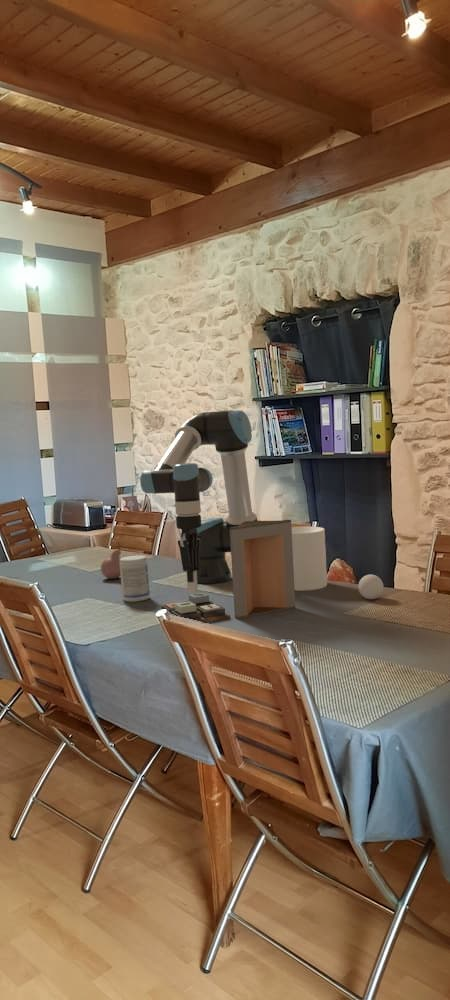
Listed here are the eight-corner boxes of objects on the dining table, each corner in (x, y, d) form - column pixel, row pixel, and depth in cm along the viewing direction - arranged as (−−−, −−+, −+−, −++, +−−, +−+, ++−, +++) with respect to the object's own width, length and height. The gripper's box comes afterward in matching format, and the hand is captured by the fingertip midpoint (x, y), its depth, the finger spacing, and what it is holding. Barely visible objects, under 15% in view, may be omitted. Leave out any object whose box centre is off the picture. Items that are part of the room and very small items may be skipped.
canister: (276, 589, 266) (273, 533, 264) (289, 580, 280) (287, 526, 278) (320, 591, 260) (317, 533, 257) (331, 581, 274) (329, 526, 272)
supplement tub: (154, 599, 262) (151, 557, 261) (130, 604, 257) (126, 561, 256) (141, 594, 270) (139, 554, 269) (117, 599, 265) (114, 558, 264)
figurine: (133, 577, 303) (130, 547, 301) (108, 582, 296) (106, 551, 295) (121, 574, 310) (119, 545, 308) (97, 579, 303) (95, 549, 302)
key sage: (190, 607, 233) (189, 600, 233) (196, 611, 229) (195, 604, 228) (175, 610, 231) (174, 603, 231) (180, 613, 227) (180, 606, 226)
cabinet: (237, 619, 229) (232, 527, 226) (222, 612, 238) (217, 524, 235) (295, 607, 239) (291, 520, 236) (279, 602, 247) (275, 517, 244)
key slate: (203, 598, 245) (202, 591, 244) (209, 601, 240) (208, 594, 240) (188, 600, 243) (188, 594, 242) (194, 603, 238) (194, 596, 238)
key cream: (214, 610, 237) (214, 603, 236) (220, 613, 232) (220, 606, 232) (199, 612, 235) (199, 605, 234) (205, 616, 230) (205, 609, 230)
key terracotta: (180, 608, 242) (180, 601, 241) (186, 611, 237) (185, 604, 237) (165, 610, 240) (165, 603, 239) (171, 614, 235) (170, 607, 235)
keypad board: (206, 606, 248) (206, 597, 248) (230, 618, 231) (229, 608, 230) (157, 614, 241) (156, 604, 241) (178, 627, 224) (177, 617, 224)
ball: (388, 597, 245) (387, 573, 244) (375, 603, 239) (374, 578, 238) (367, 595, 250) (366, 571, 249) (353, 600, 244) (353, 575, 243)
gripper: (185, 512, 235) (189, 587, 237) (167, 517, 223) (172, 596, 225) (207, 512, 233) (212, 587, 235) (191, 517, 220) (196, 597, 222)
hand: (192, 591), depth 230 cm, fingers closed
